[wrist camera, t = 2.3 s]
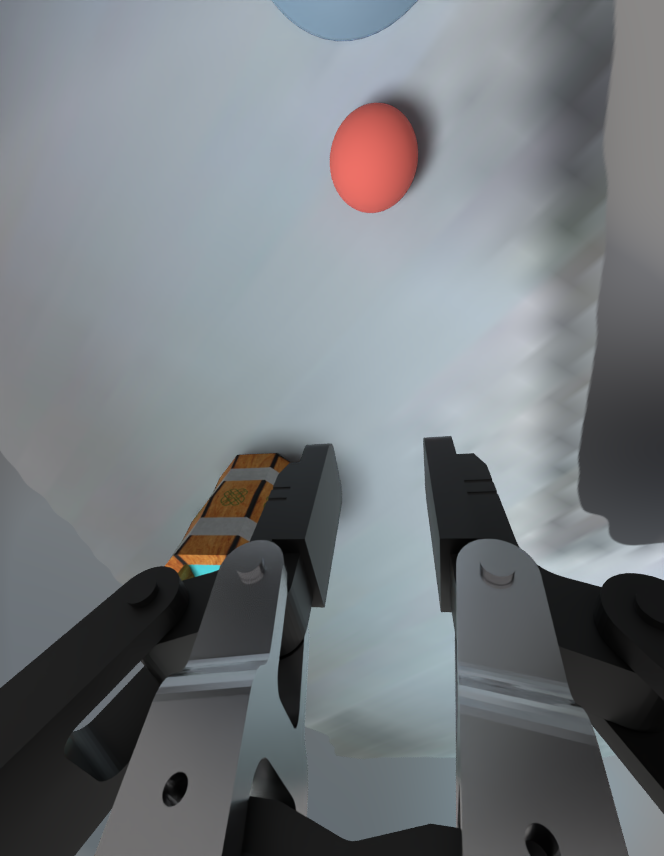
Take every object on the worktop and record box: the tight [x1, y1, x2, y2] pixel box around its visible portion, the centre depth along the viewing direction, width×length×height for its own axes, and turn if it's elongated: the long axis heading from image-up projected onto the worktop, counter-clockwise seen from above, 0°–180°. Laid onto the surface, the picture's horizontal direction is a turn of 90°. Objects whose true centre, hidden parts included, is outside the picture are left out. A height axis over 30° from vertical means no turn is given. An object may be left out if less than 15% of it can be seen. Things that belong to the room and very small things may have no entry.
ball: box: [330, 103, 418, 213], centre depth 24 cm, size 6×6×6 cm
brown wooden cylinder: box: [165, 453, 291, 581], centre depth 41 cm, size 20×14×15 cm
